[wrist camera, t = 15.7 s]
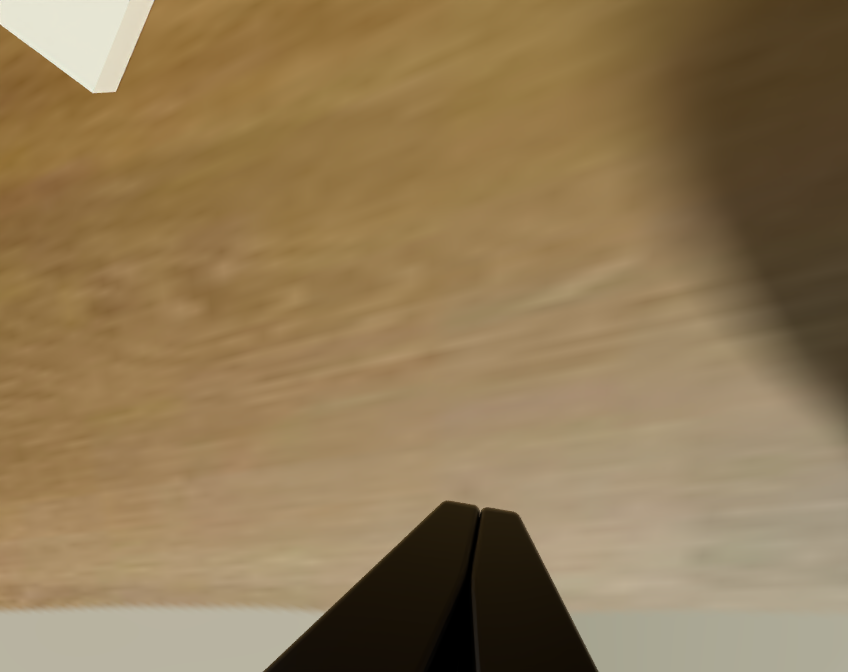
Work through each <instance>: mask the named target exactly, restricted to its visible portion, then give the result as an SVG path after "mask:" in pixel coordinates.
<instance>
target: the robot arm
mask: <svg viewBox="0 0 848 672" xmlns="http://www.w3.org/2000/svg"><path fill="white" fill-rule="evenodd" d="M263 672H598V670H597V668H596V666H595V664H594V662H593V660H592V658H591V656H590V654H589V652H588V650H587V648H586V646H585V644H584V642H583V640H582V638H581V636H580V634H579V632H578V630H577V629H576V626H575V624H574V622H573V620H572V618H571V616H570V614H569V612H568V610H567V609H566V607H565V605H564V603H563V601H562V599H561V597H560V595H559V593H558V591H557V589H556V587H555V585H554V583H553V581H552V579H551V577H550V575H549V573H548V571H547V569H546V567H545V565H544V563H543V561H542V559H541V557H540V555H539V553H538V551H537V549H536V547H535V545H534V543H533V541H532V539H531V537H530V535H529V533H528V531H527V530H526V528H525V526H524V524H523V522H522V520H521V518H520V516H519V515H518V514H517V513H516V512H512V511H507V510H501V509H495V508H489V507H486V508H483V509H482V510H481V513H480V510H479V508H478V507H477V506H476V505H471V504H466V503H460V502H454V501H444V502H442V503H441V504H440V505H439V506H438V507H437V508H436V509H435V510H434V511H433V512H432V513H430V514H429V515H428V516H427V517H426V518H425V519H424V520H423V521H422V522H421V523H420V524H419V525H418V526H417V527H416V528H415V529H414V530H413V531H411V532H410V533H409V534H408V535H407V536H406V537H405V538H404V539H403V540H402V541H401V542H400V543H399V544H398V545H397V546H396V547H395V548H393V549H392V550H391V551H390V552H389V553H388V554H387V555H386V556H385V557H384V558H383V559H382V560H381V561H380V562H379V563H378V564H377V565H376V566H374V567H373V568H372V569H371V570H370V571H369V572H368V573H367V574H366V575H365V576H364V577H363V578H362V579H361V580H360V581H359V582H358V583H356V584H355V585H354V586H353V587H352V588H351V589H350V590H349V591H348V592H347V593H346V594H345V595H344V596H343V597H342V598H341V599H340V600H338V601H337V602H336V603H335V604H334V605H333V606H332V607H331V608H330V609H329V610H328V611H327V612H326V613H325V614H324V615H323V616H322V617H321V618H319V620H317V621H316V622H315V623H314V624H313V625H312V626H311V627H310V628H309V629H308V630H307V631H306V632H305V633H304V634H303V635H302V636H300V637H299V638H298V639H297V640H296V641H295V642H294V643H293V644H292V645H291V646H290V647H289V648H288V649H287V650H286V651H285V652H284V653H282V654H281V655H280V656H279V657H278V658H277V659H276V660H275V661H274V662H273V663H272V664H271V665H270V666H269V667H268V668H267V669H265V670H264V671H263Z"/></svg>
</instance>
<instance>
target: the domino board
mask: <svg viewBox="0 0 848 672" xmlns="http://www.w3.org/2000/svg"><path fill="white" fill-rule="evenodd" d="M153 2H154V0H0V24H1V25H2V26H3V27H5V28H6V29H7V30H9V31H10V32H11V33H13V34H14V35H15V36H17V37H18V38H19V39H21V40H22V41H24V42H25V43H26V44H28V45H29V46H30V47H32V48H33V49H34V50H36V51H37V52H38V53H40V54H41V55H42V56H44V57H45V58H46V59H48V60H49V61H50V62H52V63H53V64H54V65H56V66H57V67H59V68H60V69H61V70H63V71H64V72H65V73H67V74H68V75H69V76H71V77H72V78H73V79H75V80H76V81H77V82H79V83H80V84H81V85H83V86H84V87H85V88H87V89H88V90H90V91H91V92H92V93H102V92H116V90H117V88H118V85H119V83H120V81H121V78H122V76H123V73H124V71H125V69H126V66H127V64H128V62H129V59H130V57H131V54H132V52H133V50H134V47H135V45H136V42H137V40H138V38H139V35H140V33H141V30H142V28H143V26H144V23H145V21H146V19H147V16H148V14H149V11H150V9H151V7H152V4H153Z"/></svg>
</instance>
